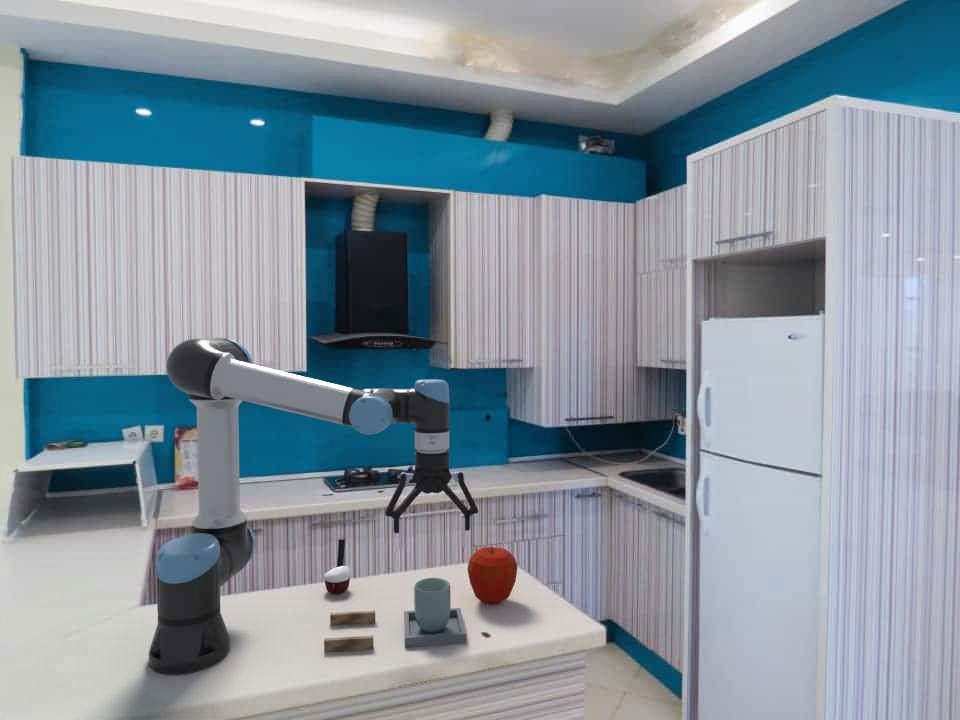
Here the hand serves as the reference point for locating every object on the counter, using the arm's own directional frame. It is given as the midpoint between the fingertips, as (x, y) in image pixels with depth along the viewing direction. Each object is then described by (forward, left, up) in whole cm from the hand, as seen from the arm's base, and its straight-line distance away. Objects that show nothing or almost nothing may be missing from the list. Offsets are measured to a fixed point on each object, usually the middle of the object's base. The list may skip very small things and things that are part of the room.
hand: (431, 546), depth 139 cm
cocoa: (-23, +25, -19) cm, 39 cm away
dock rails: (-18, 0, -19) cm, 26 cm away
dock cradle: (0, 0, -19) cm, 19 cm away
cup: (0, 0, -19) cm, 19 cm away
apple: (+15, +13, -19) cm, 28 cm away
